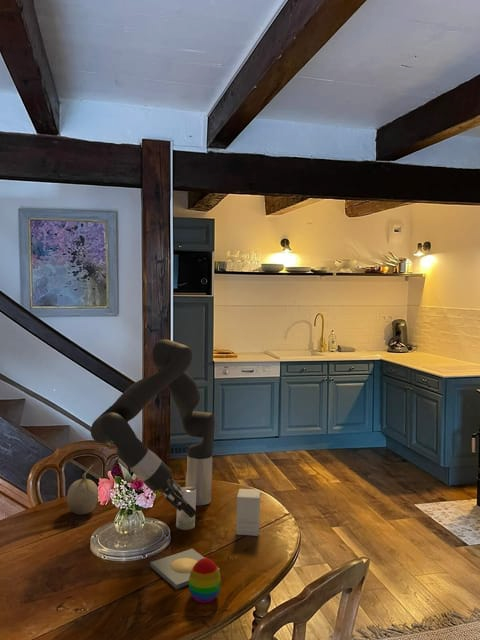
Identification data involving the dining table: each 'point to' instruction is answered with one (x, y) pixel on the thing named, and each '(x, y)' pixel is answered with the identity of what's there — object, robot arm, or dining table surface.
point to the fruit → (82, 495)
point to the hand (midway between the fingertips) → (192, 510)
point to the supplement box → (248, 512)
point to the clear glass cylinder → (182, 518)
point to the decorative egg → (204, 581)
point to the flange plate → (177, 567)
